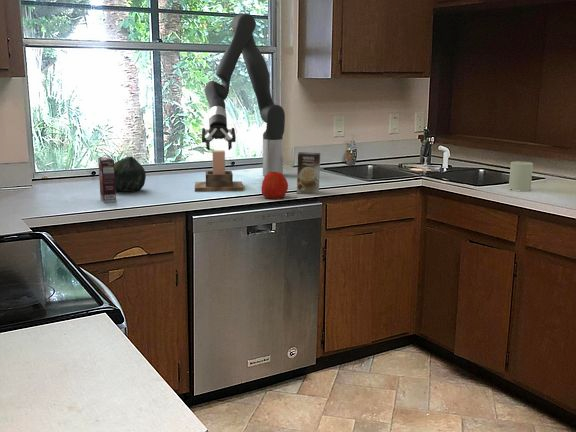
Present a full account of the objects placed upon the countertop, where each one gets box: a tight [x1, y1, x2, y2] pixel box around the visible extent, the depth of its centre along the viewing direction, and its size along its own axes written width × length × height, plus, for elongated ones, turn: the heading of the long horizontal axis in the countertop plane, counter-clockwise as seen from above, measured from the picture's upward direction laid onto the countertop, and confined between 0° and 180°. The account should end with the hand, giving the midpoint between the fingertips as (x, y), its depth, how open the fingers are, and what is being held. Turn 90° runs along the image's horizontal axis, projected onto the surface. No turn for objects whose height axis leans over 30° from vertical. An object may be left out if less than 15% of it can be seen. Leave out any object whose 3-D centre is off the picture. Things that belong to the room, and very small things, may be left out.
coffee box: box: [296, 151, 321, 195], centre depth 259 cm, size 9×6×16 cm
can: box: [508, 160, 534, 192], centre depth 272 cm, size 9×9×12 cm
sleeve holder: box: [194, 170, 245, 192], centre depth 268 cm, size 20×15×6 cm
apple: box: [261, 171, 289, 200], centre depth 248 cm, size 10×10×10 cm
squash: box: [114, 156, 147, 193], centre depth 258 cm, size 14×15×15 cm
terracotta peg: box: [212, 150, 226, 174], centre depth 266 cm, size 5×5×14 cm
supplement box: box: [97, 156, 117, 204], centre depth 238 cm, size 9×5×16 cm, turn 24°
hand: (219, 148), depth 267 cm, fingers open, 8 cm apart
